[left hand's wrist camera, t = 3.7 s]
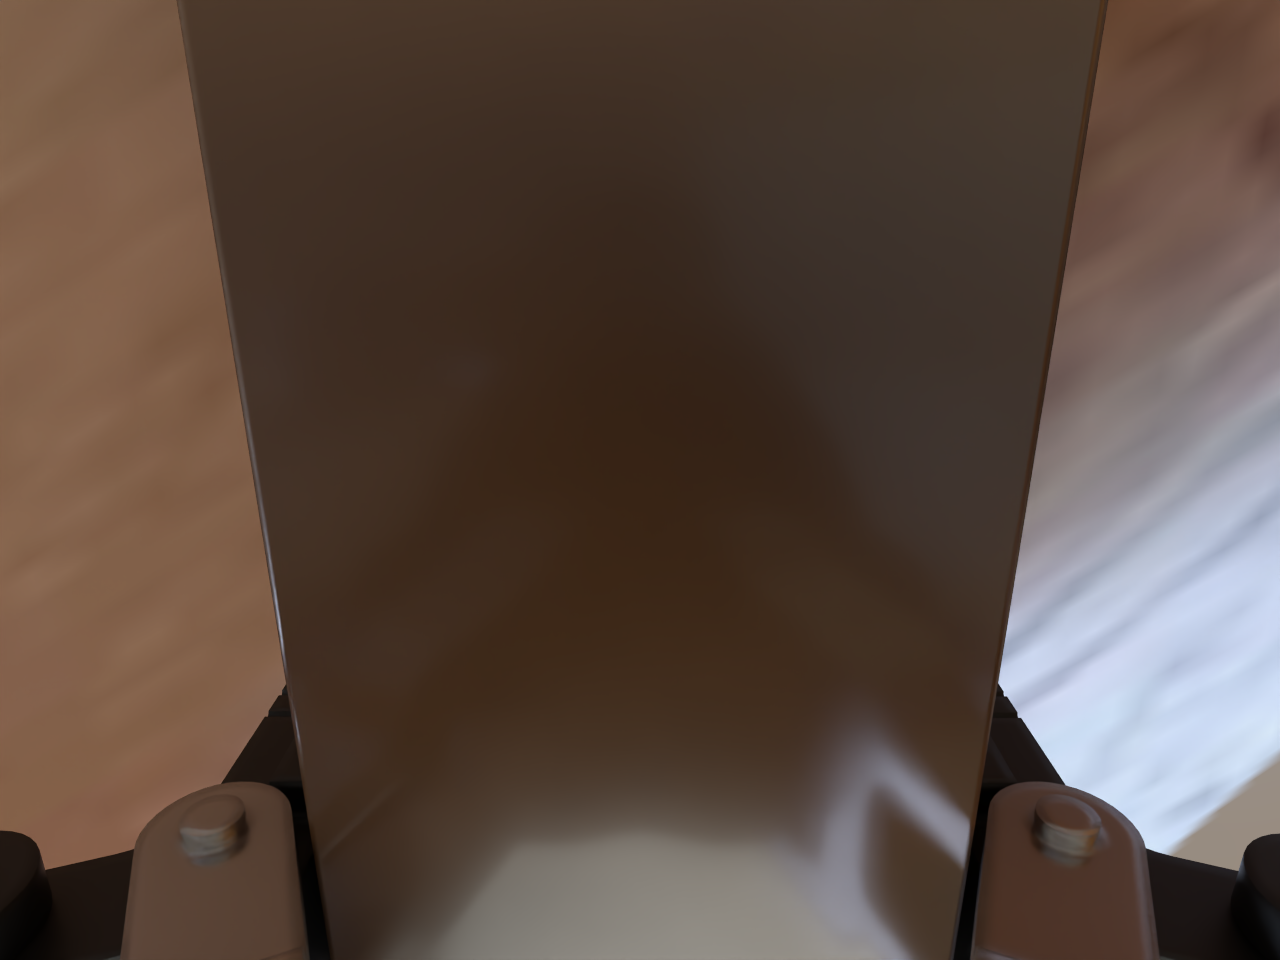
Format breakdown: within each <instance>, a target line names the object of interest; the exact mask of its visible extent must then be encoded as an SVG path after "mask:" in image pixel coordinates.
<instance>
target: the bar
mask: <svg viewBox="0 0 1280 960" xmlns="http://www.w3.org/2000/svg"><path fill="white" fill-rule="evenodd" d="M1107 4H1108V0H177V5H178V11H179V18H180V24H181V30H182V36H183V43H184V49H185V55H186V61H187V68H188V74H189V80H190V86H191V92H192V99H193V105H194V111H195V117H196V124H197V130H198V136H199V142H200V149H201V155H202V161H203V167H204V174H205V180H206V186H207V192H208V199H209V205H210V211H211V217H212V223H213V230H214V236H215V242H216V248H217V255H218V261H219V267H220V273H221V280H222V286H223V292H224V298H225V305H226V311H227V317H228V323H229V330H230V336H231V342H232V348H233V355H234V361H235V367H236V373H237V379H238V386H239V392H240V398H241V404H242V411H243V417H244V423H245V429H246V436H247V442H248V448H249V454H250V461H251V467H252V473H253V479H254V486H255V492H256V498H257V504H258V510H259V517H260V523H261V529H262V535H263V542H264V548H265V554H266V560H267V567H268V573H269V579H270V585H271V592H272V598H273V604H274V610H275V617H276V623H277V629H278V635H279V642H280V648H281V654H282V660H283V666H284V673H285V679H286V685H287V691H288V698H289V704H290V710H291V716H292V723H293V729H294V735H295V741H296V748H297V754H298V760H299V766H300V773H301V779H302V785H303V791H304V797H305V804H306V810H307V816H308V822H309V829H310V835H311V841H312V847H313V854H314V860H315V866H316V872H317V879H318V885H319V891H320V897H321V904H322V910H323V916H324V922H325V928H326V935H327V941H328V947H329V953H330V960H953V959H954V952H955V946H956V940H957V934H958V928H959V921H960V915H961V909H962V903H963V897H964V890H965V884H966V878H967V872H968V866H969V859H970V853H971V847H972V841H973V835H974V828H975V822H976V816H977V810H978V804H979V797H980V791H981V785H982V779H983V773H984V766H985V760H986V754H987V748H988V742H989V735H990V729H991V723H992V717H993V711H994V704H995V698H996V692H997V686H998V680H999V673H1000V667H1001V661H1002V655H1003V649H1004V642H1005V636H1006V630H1007V624H1008V618H1009V611H1010V605H1011V599H1012V593H1013V587H1014V580H1015V574H1016V568H1017V562H1018V556H1019V549H1020V543H1021V537H1022V531H1023V525H1024V518H1025V512H1026V506H1027V500H1028V494H1029V487H1030V481H1031V475H1032V469H1033V463H1034V456H1035V450H1036V444H1037V438H1038V432H1039V425H1040V419H1041V413H1042V407H1043V401H1044V394H1045V388H1046V382H1047V376H1048V370H1049V363H1050V357H1051V351H1052V345H1053V339H1054V332H1055V326H1056V320H1057V314H1058V308H1059V301H1060V295H1061V289H1062V283H1063V277H1064V270H1065V264H1066V258H1067V252H1068V246H1069V239H1070V233H1071V227H1072V221H1073V215H1074V208H1075V202H1076V196H1077V190H1078V184H1079V177H1080V171H1081V165H1082V159H1083V153H1084V146H1085V140H1086V134H1087V128H1088V122H1089V115H1090V109H1091V103H1092V97H1093V91H1094V84H1095V78H1096V72H1097V66H1098V60H1099V54H1100V47H1101V41H1102V35H1103V29H1104V23H1105V16H1106V10H1107Z"/></svg>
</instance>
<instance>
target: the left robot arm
mask: <svg viewBox="0 0 1280 960" xmlns="http://www.w3.org/2000/svg"><path fill="white" fill-rule="evenodd" d="M0 960H330V953H329V947H328V941H327V935H326V928H325V922H324V916H323V910H322V904H321V897H320V891H319V885H318V879H317V872H316V866H315V860H314V854H313V847H312V841H311V835H310V829H309V822H308V816H307V810H306V804H305V797H304V791H303V785H302V779H301V773H300V766H299V760H298V754H297V748H296V741H295V735H294V729H293V723H292V716H291V710H290V704H289V698H288V691H287V685H285V687H284V688H283V690H282V695H279V696H278V698H277V699H276V701H275V702H274V704H273V705H272V707H271V708H270V710H269V714H268V717H264V719H263V720H262V722H261V724H260V725H259V727H258V728H257V730H256V731H255V733H254V734H253V736H252V737H251V739H250V740H249V742H248V743H247V745H246V746H245V748H244V750H243V751H242V753H241V754H240V756H239V757H238V759H237V760H236V762H235V763H234V765H233V766H232V768H231V769H230V771H229V773H228V774H227V776H226V777H225V779H224V780H223V782H222V783H221V784H219V785H214V786H211V787H207V788H204V789H201V790H199V791H196V792H193V793H191V794H189V795H187V796H185V797H183V798H181V799H179V800H177V801H175V802H174V803H172V804H170V805H169V806H167V807H166V808H164V809H163V810H162V811H161V812H159V813H158V814H157V815H156V816H155V817H154V818H153V819H152V820H151V821H150V822H149V823H148V824H147V825H146V826H145V828H144V829H143V830H142V831H141V833H140V835H139V837H138V839H137V841H136V844H135V848H134V849H133V850H130V851H126V852H122V853H119V854H115V855H110V856H106V857H101V858H97V859H93V860H88V861H84V862H79V863H75V864H70V865H66V866H61V867H57V868H52V869H48V870H45V868H44V864H43V861H42V857H41V854H40V851H39V848H38V846H37V844H36V843H35V842H34V841H33V840H32V839H31V838H30V837H28V836H26V835H24V834H21V833H17V832H12V831H0ZM953 960H1280V834H1270V835H1266V836H1262V837H1259V838H1257V839H1255V840H1253V841H1252V842H1251V843H1250V844H1249V845H1248V846H1247V848H1246V850H1245V852H1244V855H1243V858H1242V861H1241V865H1240V868H1239V871H1235V870H1230V869H1226V868H1222V867H1217V866H1213V865H1208V864H1204V863H1200V862H1195V861H1191V860H1186V859H1182V858H1177V857H1173V856H1169V855H1165V854H1162V853H1158V852H1155V851H1152V850H1149V849H1147V848H1145V844H1144V841H1143V839H1142V837H1141V835H1140V833H1139V831H1138V830H1137V829H1136V827H1135V826H1134V825H1133V824H1132V823H1131V822H1130V821H1129V820H1128V819H1127V818H1126V817H1125V816H1124V815H1123V814H1122V813H1121V812H1119V811H1118V810H1117V809H1116V808H1114V807H1113V806H1111V805H1110V804H1108V803H1106V802H1105V801H1103V800H1101V799H1099V798H1097V797H1095V796H1093V795H1091V794H1089V793H1087V792H1084V791H1081V790H1079V789H1076V788H1073V787H1069V786H1066V785H1065V784H1064V782H1063V781H1062V779H1061V778H1060V776H1059V775H1058V773H1057V772H1056V770H1055V769H1054V767H1053V766H1052V764H1051V763H1050V761H1049V759H1048V758H1047V756H1046V755H1045V753H1044V752H1043V750H1042V749H1041V747H1040V746H1039V744H1038V743H1037V741H1036V740H1035V738H1034V737H1033V735H1032V734H1031V732H1030V731H1029V729H1028V728H1027V726H1026V725H1025V723H1024V722H1023V720H1022V719H1021V718H1018V716H1017V711H1016V710H1015V708H1014V707H1013V705H1012V704H1011V702H1010V701H1009V699H1008V698H1007V697H1004V694H1003V690H1002V688H1001V687H1000V685H999V684H998V686H997V692H996V698H995V704H994V711H993V717H992V723H991V729H990V735H989V742H988V748H987V754H986V760H985V766H984V773H983V779H982V785H981V791H980V797H979V804H978V810H977V816H976V822H975V828H974V835H973V841H972V847H971V853H970V859H969V866H968V872H967V878H966V884H965V890H964V897H963V903H962V909H961V915H960V921H959V928H958V934H957V940H956V946H955V952H954V959H953Z"/></svg>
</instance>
